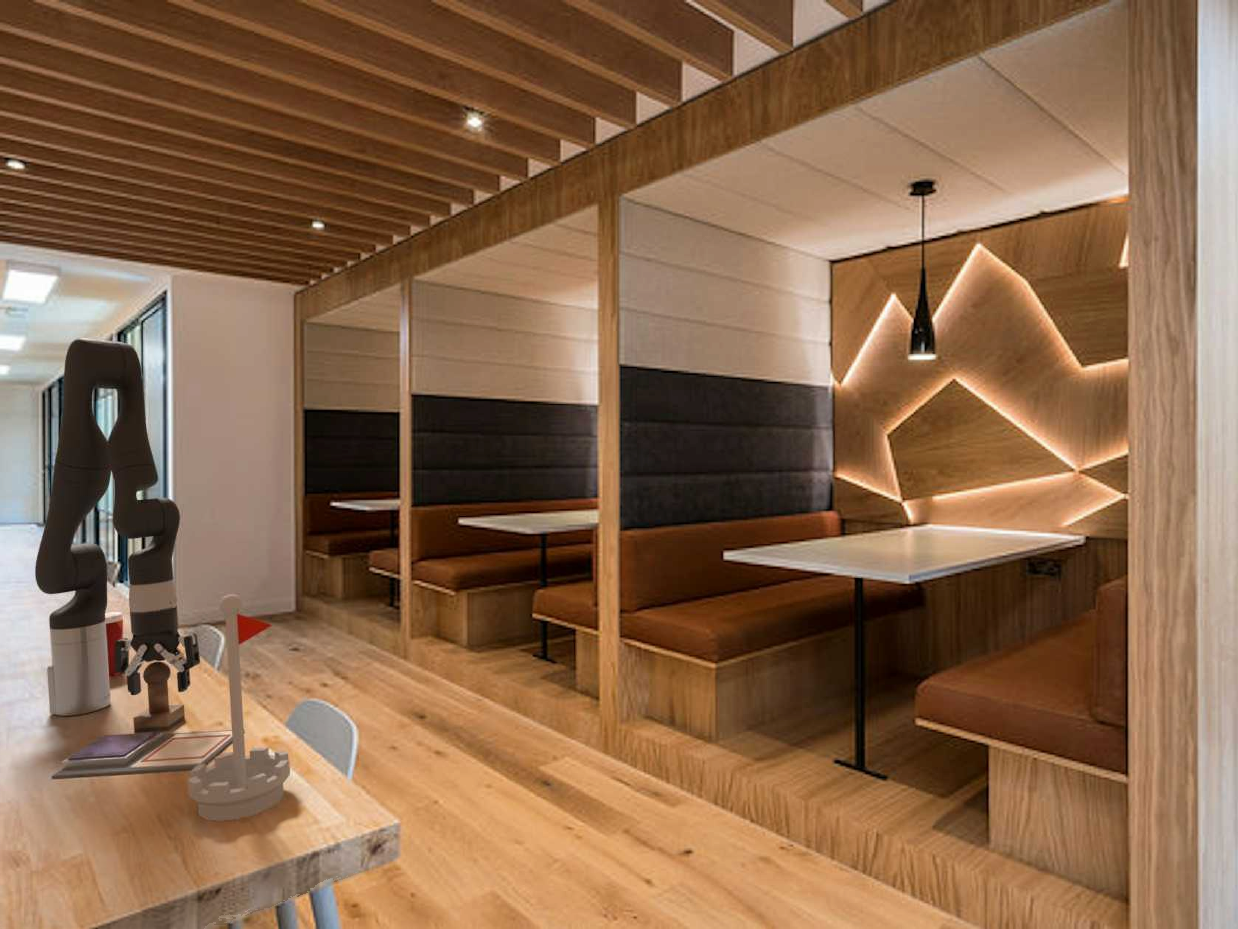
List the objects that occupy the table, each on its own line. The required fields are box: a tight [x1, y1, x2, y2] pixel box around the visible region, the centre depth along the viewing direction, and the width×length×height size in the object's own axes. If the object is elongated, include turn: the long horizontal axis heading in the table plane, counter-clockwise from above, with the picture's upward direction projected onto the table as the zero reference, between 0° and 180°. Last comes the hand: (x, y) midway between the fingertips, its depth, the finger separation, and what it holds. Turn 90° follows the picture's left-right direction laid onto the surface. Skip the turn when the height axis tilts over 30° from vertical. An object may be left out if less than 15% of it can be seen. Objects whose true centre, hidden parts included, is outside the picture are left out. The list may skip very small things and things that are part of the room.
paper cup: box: [105, 611, 125, 678], centre depth 180 cm, size 8×8×14 cm
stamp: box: [132, 661, 186, 734], centre depth 144 cm, size 6×6×12 cm
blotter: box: [51, 729, 233, 779], centre depth 130 cm, size 23×16×1 cm
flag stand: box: [187, 593, 291, 822], centre depth 110 cm, size 13×13×30 cm
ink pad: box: [61, 731, 163, 770], centre depth 130 cm, size 10×11×2 cm
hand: (159, 692), depth 143 cm, fingers open, 8 cm apart
